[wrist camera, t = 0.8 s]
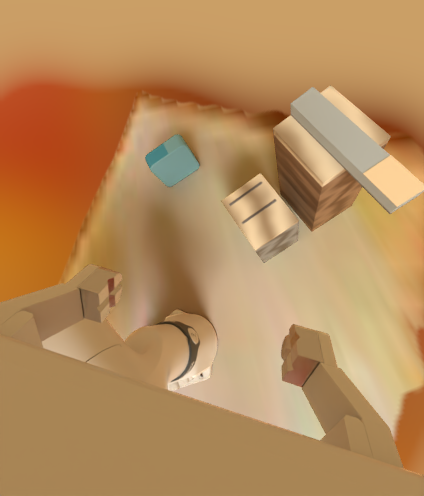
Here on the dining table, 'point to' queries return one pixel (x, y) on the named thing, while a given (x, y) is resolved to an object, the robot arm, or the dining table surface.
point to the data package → (172, 161)
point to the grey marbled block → (263, 217)
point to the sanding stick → (356, 151)
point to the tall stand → (318, 166)
